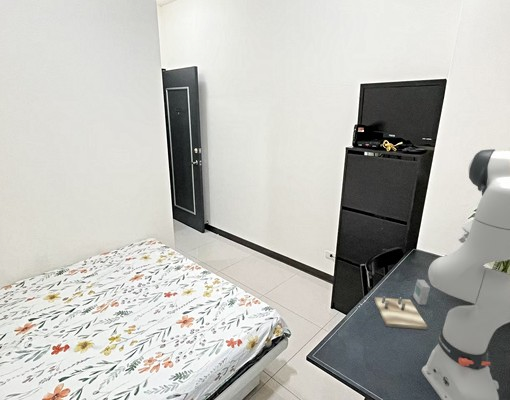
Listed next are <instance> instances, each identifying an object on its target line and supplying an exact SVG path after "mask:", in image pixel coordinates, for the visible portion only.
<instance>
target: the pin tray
mask: <svg viewBox="0 0 510 400" xmlns="http://www.w3.org/2000/svg"><path fill="white" fill-rule="evenodd" d="M373 301H374V302H375V305H376V307H377V309H378V312H379V313H380V315H381V318H382V320H383V322H384V324H385V326H386V327H390V328H392V327H393V328H404V329H415V330H416V329H417V330H427V329H428V325H427V323H426V322H425V321H424V319H423V317H422V316H421V315H420V312H419V311H418V309H417V307H416V306H415V305H414V303H413V301H411V299H405V298H403V297H402V296H399V297H398V298H391V297H387V296H385V295H383V296H382V297H378V296H376V297H374V300H373Z"/></svg>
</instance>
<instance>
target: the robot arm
mask: <svg viewBox="0 0 510 400" xmlns="http://www.w3.org/2000/svg"><path fill="white" fill-rule="evenodd" d="M468 178H469V180H470V182H471V183H472V184H473V185H474V186H475V187H477V191H479V192H481V198H480V200H479V203H478V205H477V206H476V211H475V213H474V217H473V219H471V220H470V221H468V222H466V223H465V224H463V225H462V227H461V229H462V230H463V231H464V232H463V233H462V235H461V236H460V237H459V238H458V241H459V243H461V244H462V245H461V246H460V247H459V248H458V249H457V250H455V251H454V252H452V253H450V254H445V255H446V256H445V255H444V256H440V257H439V256H438V258H436V259H434V260H433V261H432V262H431V264H430V265H429V268H428V272H427V277H428V279H429V282H430V284H431V286H432V287H434V288H436V289H437V290H439V291H441V292H442V293H444V294H446V295H447V296H451V297H454V298H457V299H459V300H462V301H464V302H468V303H471V304H472V305H471V304H470V305H458V306H455V307H452V308H451V309H449V310H448V312H447V314H446V317H445V321H444V325H443V328H441V330H440V332H439V335H438V338H437V339H438V340H437V345H436V346H435V347H434V348H433V349H432V351H431V352H430V355H429V358H428V360H427V361H426V362H427V363H426V364H425V365H423V367H422V368H421V373H422V375H423V376H424V378H425V379H426V380H427V381H428V383H429V384H430V385H431V387H432V389H433V390H434V391H435V392H436V394H437V395H438V396H439V398H440V399H441V400H500V398H499V393H498V391H497V390H499V389H500V385H499V381H497V380H496V379H493V376H492V375H491V372H490V370H491V369H490V367H489V366H491V364H492V362H490V361H489V358H488V357H489V349H488V346H489V343H490V341H491V339H492V336H493V335H494V334H495V332H496V331H497V329H499V328H501V327H502V326H504V325H506V324H509V323H510V273H507V272H504V271H501V270H500V271H499V270H496V269H493V268H491V267H486V266H484V265H487V264H489V263H494V262H495V263H496V262H505V261H510V147H509V148H508V149H507V150H506V149H505V150H502V149H500V150H496V149H491V148H490V149H482V150H480V151H478V152H477V153H475V154H474V156H473V158H472V159H471V160H470V162H469V165H468Z"/></svg>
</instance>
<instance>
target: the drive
mask: <svg viewBox="0 0 510 400" xmlns="http://www.w3.org/2000/svg"><path fill="white" fill-rule="evenodd" d="M430 290H431V287H430V285H429V284H428V283H427V281H425V279H416V283H415V288H414V292H413V296H412V297H413V299H414V300H415V302H416V303H417V305H421V306H426V305H427V303H428V298H429V293H430Z"/></svg>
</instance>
